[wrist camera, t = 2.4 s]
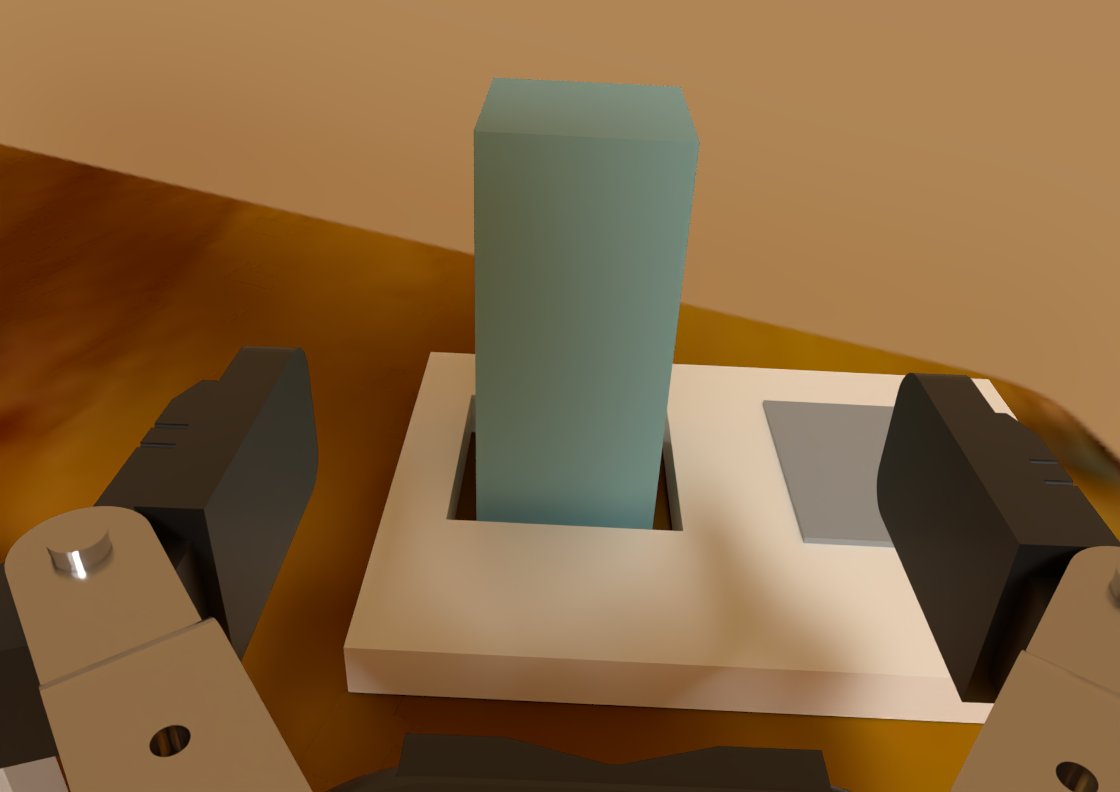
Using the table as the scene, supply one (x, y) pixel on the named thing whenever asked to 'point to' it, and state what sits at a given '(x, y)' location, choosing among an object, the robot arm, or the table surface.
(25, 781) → the cassette
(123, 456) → the table surface
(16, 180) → the table surface
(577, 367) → the teal block
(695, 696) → the puzzle board
